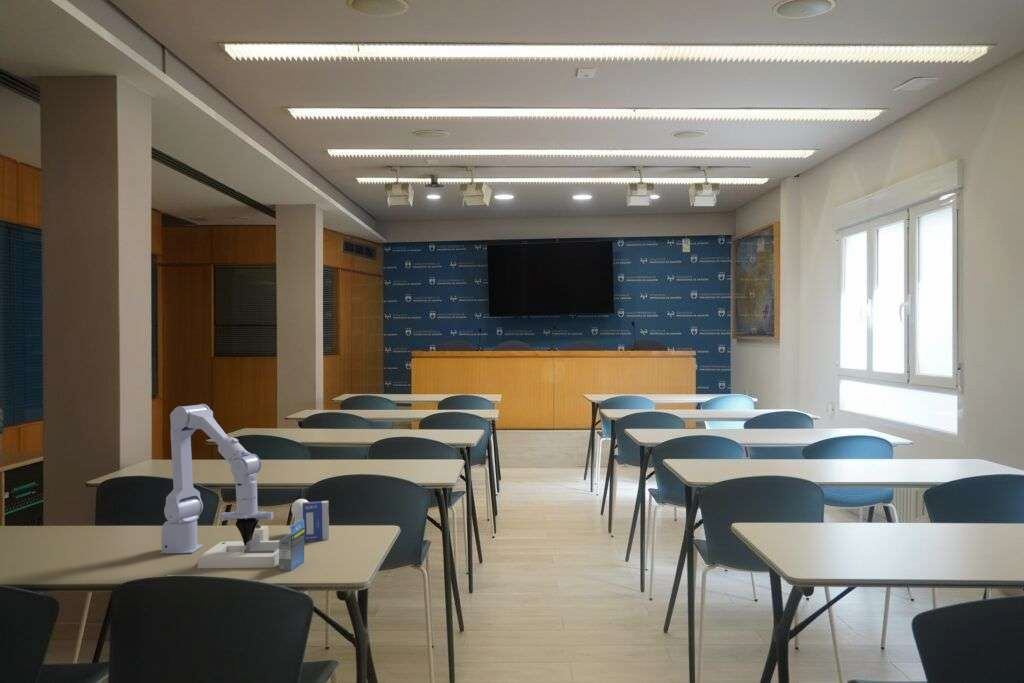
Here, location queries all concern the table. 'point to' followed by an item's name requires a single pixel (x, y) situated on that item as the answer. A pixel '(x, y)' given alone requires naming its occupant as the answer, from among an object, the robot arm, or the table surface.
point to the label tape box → (292, 548)
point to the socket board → (236, 557)
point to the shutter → (260, 546)
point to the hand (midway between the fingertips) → (247, 544)
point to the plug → (261, 532)
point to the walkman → (316, 520)
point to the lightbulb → (298, 510)
